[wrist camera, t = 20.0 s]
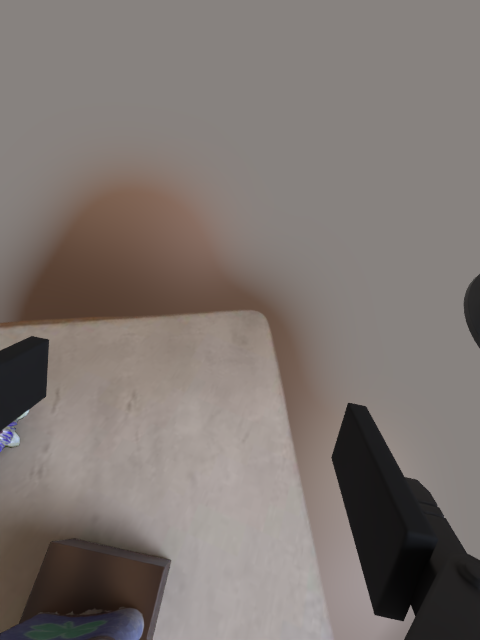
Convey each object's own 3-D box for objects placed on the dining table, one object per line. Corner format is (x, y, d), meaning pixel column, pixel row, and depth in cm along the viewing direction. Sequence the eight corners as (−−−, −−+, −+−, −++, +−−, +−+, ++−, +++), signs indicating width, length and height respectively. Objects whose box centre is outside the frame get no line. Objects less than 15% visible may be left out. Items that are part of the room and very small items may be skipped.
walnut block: (171, 560, 35) (165, 567, 30) (138, 699, 30) (123, 736, 25) (73, 538, 35) (50, 541, 30) (24, 672, 31) (-13, 703, 25)
